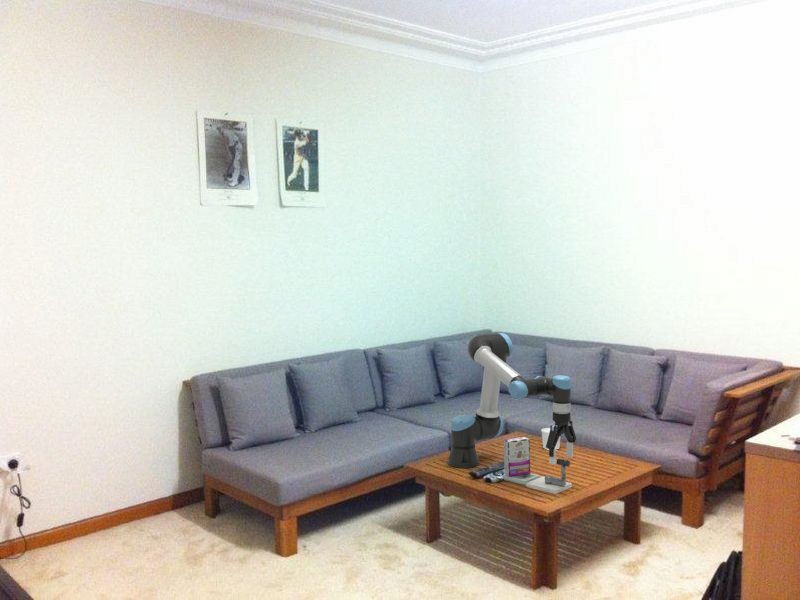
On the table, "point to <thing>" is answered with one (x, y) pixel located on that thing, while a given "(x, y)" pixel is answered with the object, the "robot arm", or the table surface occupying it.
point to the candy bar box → (516, 456)
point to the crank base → (547, 486)
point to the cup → (545, 437)
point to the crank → (561, 480)
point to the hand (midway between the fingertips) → (561, 460)
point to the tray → (521, 478)
